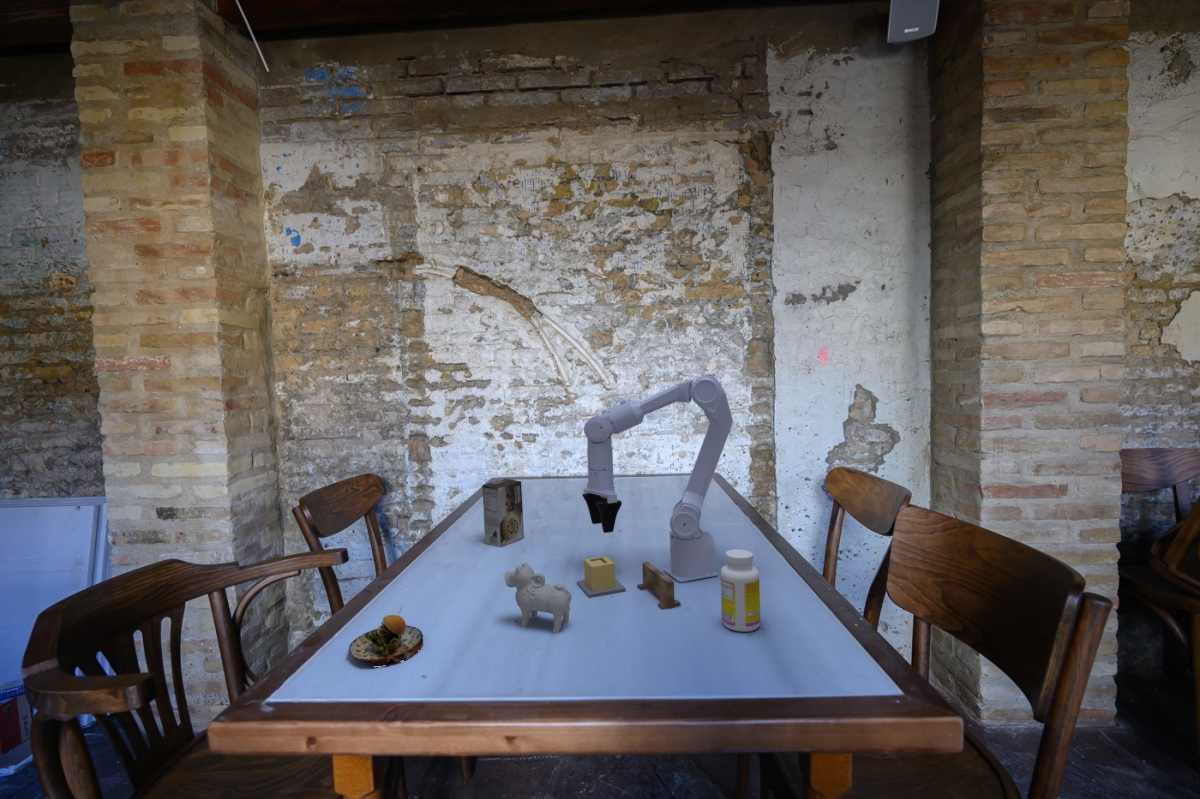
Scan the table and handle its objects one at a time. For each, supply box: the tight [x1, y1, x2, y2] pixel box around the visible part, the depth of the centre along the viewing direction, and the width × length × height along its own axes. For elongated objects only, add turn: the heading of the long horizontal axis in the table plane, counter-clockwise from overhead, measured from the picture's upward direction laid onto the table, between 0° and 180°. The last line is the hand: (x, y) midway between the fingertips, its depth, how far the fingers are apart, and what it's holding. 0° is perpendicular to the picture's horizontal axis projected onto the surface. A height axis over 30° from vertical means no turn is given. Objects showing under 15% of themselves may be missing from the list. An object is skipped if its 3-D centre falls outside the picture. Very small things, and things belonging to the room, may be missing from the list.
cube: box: [583, 555, 616, 591], centre depth 117 cm, size 5×5×5 cm
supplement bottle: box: [720, 549, 761, 633], centre depth 98 cm, size 7×7×13 cm
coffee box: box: [481, 478, 525, 548], centre depth 151 cm, size 9×6×16 cm
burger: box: [347, 606, 424, 668], centre depth 94 cm, size 12×12×8 cm
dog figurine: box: [504, 561, 572, 634], centre depth 102 cm, size 5×13×11 cm, turn 69°
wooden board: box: [636, 561, 682, 610], centre depth 112 cm, size 12×4×5 cm, turn 20°
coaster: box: [576, 578, 627, 599], centre depth 117 cm, size 8×8×1 cm
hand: (602, 527), depth 127 cm, fingers open, 7 cm apart
